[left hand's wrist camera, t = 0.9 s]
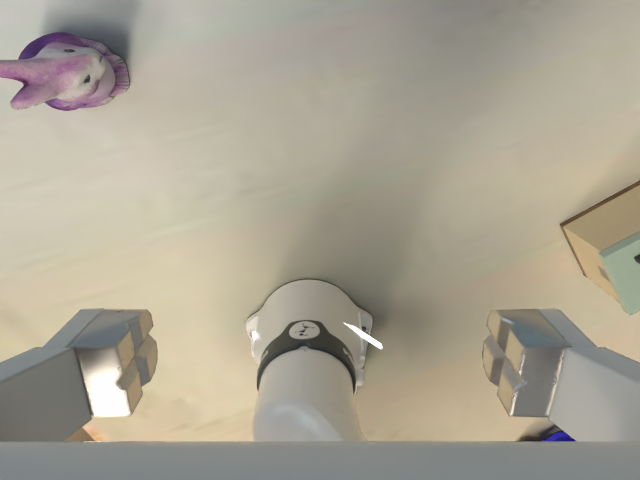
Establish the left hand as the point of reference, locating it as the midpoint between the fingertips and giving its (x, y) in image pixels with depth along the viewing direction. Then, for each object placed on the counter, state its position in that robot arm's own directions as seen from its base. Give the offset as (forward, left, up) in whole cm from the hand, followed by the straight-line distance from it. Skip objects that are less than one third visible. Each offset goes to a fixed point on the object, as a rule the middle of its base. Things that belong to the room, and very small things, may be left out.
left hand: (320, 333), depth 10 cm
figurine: (+7, +27, -46) cm, 54 cm away
